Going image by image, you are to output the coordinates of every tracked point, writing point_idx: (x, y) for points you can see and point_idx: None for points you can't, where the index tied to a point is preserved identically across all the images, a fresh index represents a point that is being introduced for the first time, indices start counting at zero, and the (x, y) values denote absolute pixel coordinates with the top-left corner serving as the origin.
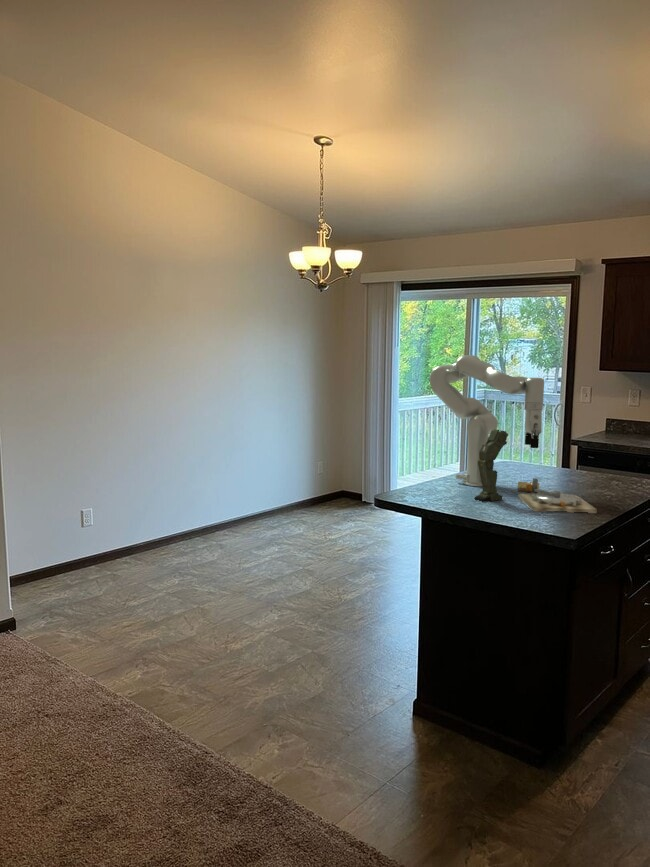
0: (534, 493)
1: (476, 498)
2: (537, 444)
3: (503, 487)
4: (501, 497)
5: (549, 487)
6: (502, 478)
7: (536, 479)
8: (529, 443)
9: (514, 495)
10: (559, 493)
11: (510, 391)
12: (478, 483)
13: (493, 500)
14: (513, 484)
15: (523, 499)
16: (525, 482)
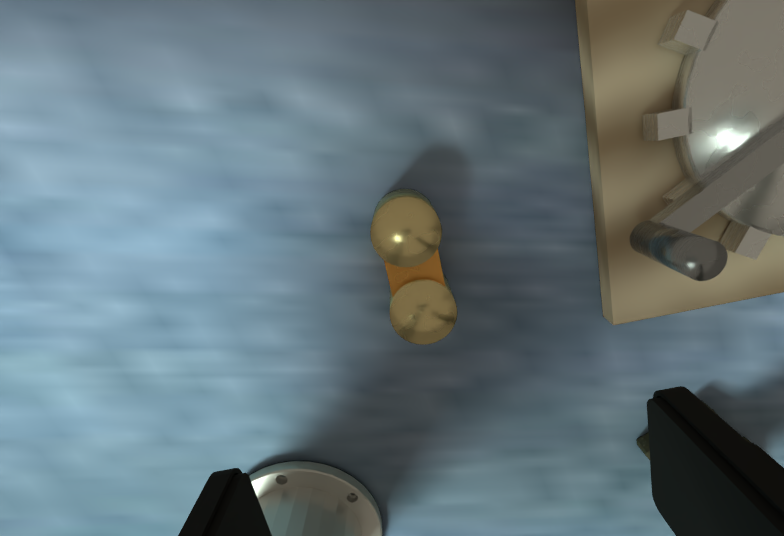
0: (744, 241)
1: None
2: (727, 443)
3: (335, 394)
4: (713, 410)
5: (193, 103)
6: (40, 402)
7: (725, 252)
8: (257, 525)
9: (554, 336)
10: None
11: None
12: (360, 527)
13: (748, 440)
14: (209, 340)
15: (743, 296)
16: (411, 296)
